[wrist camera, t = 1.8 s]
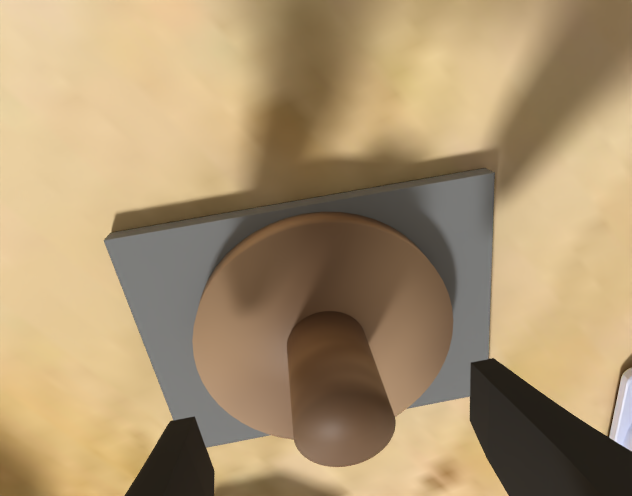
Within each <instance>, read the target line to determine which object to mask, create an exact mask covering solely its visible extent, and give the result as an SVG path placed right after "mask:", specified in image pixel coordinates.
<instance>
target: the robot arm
mask: <svg viewBox="0 0 632 496" xmlns="http://www.w3.org/2000/svg"><path fill="white" fill-rule="evenodd" d="M470 422H471V424H472V426H473V428H474V431H475V433H476V435H477V438H478V440H479V442H480V444H481V446H482V449H483V451H484V453H485V455H486V457H487V459H488V461H489V463H490V464H491V466H492V468H493V469H494V471H495V473H496V475H497V476H498V478H499V480H500V481H501V483H502V485H503V486H504V488H505V490H506V492H507V493H508V495H509V496H632V368H629V369H627V370H626V371H625V372H624V373H623V375H622V377H621V382H620V387H619V392H618V396H617V401H616V406H615V411H614V416H613V421H612V426H611V431H610V435H609V437H607V436H606V435H604V434H602V433H601V432H599V431H597V430H596V429H594V428H593V427H591V426H589V425H588V424H586V423H585V422H583V421H582V420H580V419H579V418H577V417H576V416H574V415H573V414H571V413H570V412H568V411H567V410H565V409H564V408H562V407H561V406H559V405H558V404H557V403H555V402H554V401H552V400H551V399H549V398H548V397H546V396H545V395H544V394H542V393H541V392H539V391H538V390H537V389H535V388H534V387H532V386H531V385H530V384H528V383H527V382H525V381H524V380H523V379H521V378H520V377H519V376H517V375H516V374H514V373H513V372H512V371H510V370H509V369H508V368H506V367H505V366H503V365H502V364H501V363H499V362H498V361H497V360H495V359H494V358H492V359H487V360H481V361H476V362H471V369H470ZM125 496H214V469H213V466H212V463H211V460H210V457H209V455H208V452H207V449H206V446H205V444H204V441H203V438H202V435H201V432H200V430H199V427H198V424H197V421H196V418H195V416H194V417H189V418H184V419H178V420H173V421H170V423H169V424H168V425H167V427H166V429H165V430H164V432H163V434H162V435H161V437H160V439H159V440H158V442H157V444H156V446H155V447H154V449H153V451H152V452H151V454H150V456H149V457H148V459H147V461H146V462H145V464H144V466H143V467H142V469H141V470H140V472H139V474H138V475H137V477H136V479H135V480H134V482H133V483H132V485H131V486H130V488H129V490H128V491H127V493H126V494H125Z"/></svg>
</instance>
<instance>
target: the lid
mask: <svg viewBox="0 0 632 496" xmlns="http://www.w3.org/2000/svg"><path fill="white" fill-rule="evenodd" d="M452 333H453V312H452V305H451V301H450V297H449V293H448V291H447V289H446V286H445V284H444V282H443V280H442V278H441V277H440V275H439V274H438V272H437V270H436V269H435V267H434V266H433V265H432V264H431V262H430V261H429V260H428V259H427V257H426V256H425V255H424V254H423V253H422V252H421V250H420V249H419V248H418V247H417V246H416V245H415V244H414V243H413V242H412V241H411V240H409V239H408V238H407V237H406V236H405V235H403V234H402V233H401V232H399V231H397V230H396V229H394V228H392V227H391V226H389V225H387V224H384V223H382V222H380V221H377V220H375V219H372V218H369V217H365V216H361V215H358V214H351V213H344V212H315V213H306V214H301V215H296V216H292V217H288V218H285V219H282V220H279V221H277V222H274V223H271V224H269V225H267V226H265V227H263V228H261V229H259V230H257V231H255V232H254V233H252V234H251V235H249V236H248V237H246V238H245V239H244V240H242V241H241V242H239V243H238V244H237V245H236V246H235V247H234V248H233V249H232V250H230V251H229V252H228V253H227V254H226V255H225V257H224V258H223V259H222V260H221V261H220V263H219V264H218V265H217V266H216V268H215V269H214V271H213V273H212V274H211V276H210V278H209V279H208V281H207V283H206V286H205V288H204V290H203V293H202V296H201V299H200V303H199V307H198V311H197V315H196V319H195V323H194V328H193V339H192V343H193V355H194V360H195V364H196V368H197V371H198V373H199V375H200V378H201V380H202V382H203V384H204V386H205V387H206V389H207V390H208V392H209V394H210V395H211V396H212V397H213V399H214V400H215V401H216V402H217V403H218V404H219V405H220V406H221V407H222V408H223V409H224V410H225V411H226V412H227V413H229V414H230V415H231V416H233V417H234V418H236V419H237V420H239V421H240V422H241V423H243V424H245V425H247V426H249V427H251V428H253V429H255V430H258V431H261V432H263V433H266V434H269V435H273V436H277V437H281V438H287V439H294V442H295V445H296V447H297V449H298V450H299V451H300V453H301V454H302V455H303V456H304V457H306V458H307V459H309V460H310V461H312V462H314V463H317V464H320V465H324V466H330V467H344V466H351V465H355V464H358V463H361V462H364V461H366V460H368V459H370V458H372V457H374V456H375V455H376V454H378V453H379V452H380V451H381V450H383V449H384V448H385V446H386V445H387V444H388V443H389V441H390V440H391V438H392V436H393V433H394V430H395V416H397V415H399V414H400V413H401V412H403V411H404V410H405V409H407V408H408V407H410V406H411V405H412V404H413V403H414V402H415V401H416V400H417V399H418V398H419V397H421V395H422V394H423V393H424V392H425V391H426V390H427V389H428V388H429V386H430V385H431V384H432V382H433V381H434V379H435V378H436V376H437V375H438V373H439V371H440V370H441V368H442V366H443V364H444V362H445V359H446V357H447V354H448V351H449V348H450V344H451V339H452Z"/></svg>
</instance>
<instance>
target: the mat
mask: <svg viewBox="0 0 632 496" xmlns="http://www.w3.org/2000/svg"><path fill="white" fill-rule="evenodd" d="M494 179H495V173H494V172H492V171H490V170H488V169H486V168H483V169H477V170H472V171H466V172H460V173H454V174H448V175H443V176H437V177H431V178H425V179H419V180H414V181H408V182H402V183H396V184H391V185H385V186H379V187H373V188H367V189H362V190H356V191H350V192H344V193H338V194H333V195H327V196H321V197H315V198H309V199H304V200H298V201H292V202H286V203H281V204H275V205H269V206H263V207H257V208H252V209H246V210H240V211H234V212H228V213H223V214H217V215H211V216H205V217H200V218H194V219H188V220H182V221H176V222H171V223H165V224H159V225H153V226H147V227H142V228H136V229H130V230H124V231H118V232H113V233H110V234H109V235H108V236H107V237H106V238H105V240H104V243H105V245H106V248H107V250H108V253H109V255H110V258H111V261H112V263H113V266H114V268H115V271H116V273H117V276H118V279H119V281H120V284H121V286H122V289H123V291H124V294H125V297H126V299H127V302H128V304H129V307H130V309H131V312H132V315H133V317H134V320H135V322H136V325H137V327H138V330H139V333H140V335H141V338H142V340H143V343H144V346H145V348H146V351H147V353H148V356H149V358H150V361H151V364H152V366H153V369H154V371H155V374H156V376H157V379H158V382H159V384H160V387H161V389H162V392H163V394H164V397H165V400H166V402H167V405H168V407H169V410H170V412H171V415H172V418H173V420H178V419H184V418H189V417H194V416H195V418H196V421H197V424H198V427H199V430H200V432H201V435H202V438H203V441H204V444H205V446H206V448H207V447H212V446H217V445H222V444H227V443H233V442H238V441H243V440H248V439H253V438H258V437H263V436H269V434H266V433H263V432H261V431H258V430H255V429H253V428H251V427H249V426H247V425H245V424H243V423H241V422H240V421H239V420H237V419H236V418H234V417H233V416H231V415H230V414H229V413H227V412H226V411H225V410H224V409H223V408H222V407H221V406H220V405H219V404H218V403H217V402H216V401H215V400H214V399H213V397H212V396H211V395H210V394H209V392H208V390H207V389H206V387H205V386H204V384H203V382H202V380H201V378H200V375H199V373H198V371H197V368H196V364H195V360H194V355H193V343H192V339H193V328H194V323H195V319H196V315H197V311H198V307H199V303H200V299H201V296H202V293H203V290H204V288H205V286H206V283H207V281H208V279H209V278H210V276H211V274H212V273H213V271H214V269H215V268H216V266H217V265H218V264H219V263H220V261H221V260H222V259H223V258H224V257H225V255H226V254H227V253H228V252H229V251H230V250H232V249H233V248H234V247H235V246H236V245H237V244H238V243H239V242H241V241H242V240H244V239H245V238H246V237H248V236H249V235H251V234H252V233H254V232H255V231H257V230H259V229H261V228H263V227H265V226H267V225H269V224H271V223H274V222H277V221H279V220H282V219H285V218H288V217H292V216H296V215H301V214H306V213H315V212H344V213H351V214H358V215H361V216H365V217H369V218H372V219H375V220H377V221H380V222H382V223H384V224H387V225H389V226H391V227H392V228H394V229H396V230H397V231H399V232H401V233H402V234H403V235H405V236H406V237H407V238H408V239H409V240H411V241H412V242H413V243H414V244H415V245H416V246H417V247H418V248H419V249H420V250H421V252H422V253H423V254H424V255H425V256H426V257H427V259H428V260H429V261H430V262H431V264H432V265H433V266H434V267H435V269H436V270H437V272H438V274H439V275H440V277H441V278H442V280H443V282H444V284H445V286H446V289H447V291H448V293H449V297H450V301H451V305H452V312H453V333H452V339H451V344H450V348H449V351H448V354H447V357H446V359H445V362H444V364H443V366H442V368H441V370H440V371H439V373H438V375H437V376H436V378H435V379H434V381H433V382H432V384H431V385H430V386H429V388H428V389H427V390H426V391H425V392H424V393H423V394H422V395H421V397H419V398H418V399H417V400H416V401H415V402H414V403H413V404H412V405H411V406H410V407H408V408H413V407H418V406H423V405H428V404H433V403H439V402H444V401H449V400H454V399H459V398H464V397H470V369H471V362H476V361H481V360H487V359H488V354H489V325H490V296H491V267H492V237H493V208H494ZM408 408H407V409H408Z"/></svg>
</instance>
